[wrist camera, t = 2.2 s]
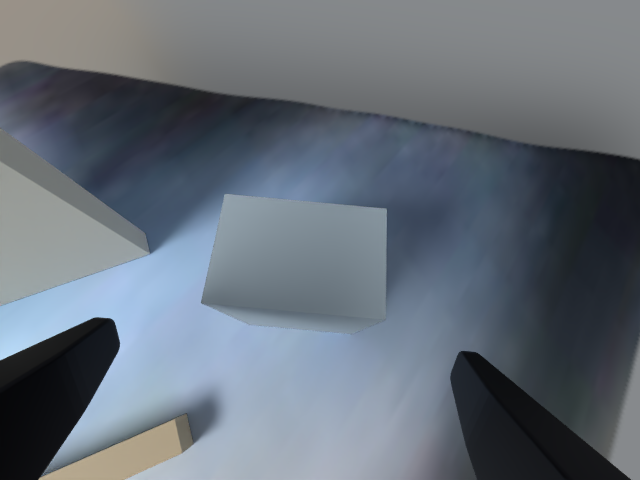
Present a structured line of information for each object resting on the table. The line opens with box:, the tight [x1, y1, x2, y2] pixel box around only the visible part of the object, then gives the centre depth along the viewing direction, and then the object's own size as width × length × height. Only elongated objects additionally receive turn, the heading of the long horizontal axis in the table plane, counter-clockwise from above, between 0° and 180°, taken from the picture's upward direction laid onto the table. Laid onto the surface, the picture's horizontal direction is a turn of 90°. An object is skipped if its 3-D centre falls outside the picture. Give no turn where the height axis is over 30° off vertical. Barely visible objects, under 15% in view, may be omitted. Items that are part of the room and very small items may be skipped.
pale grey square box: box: [201, 194, 387, 334], centre depth 15 cm, size 5×6×8 cm
